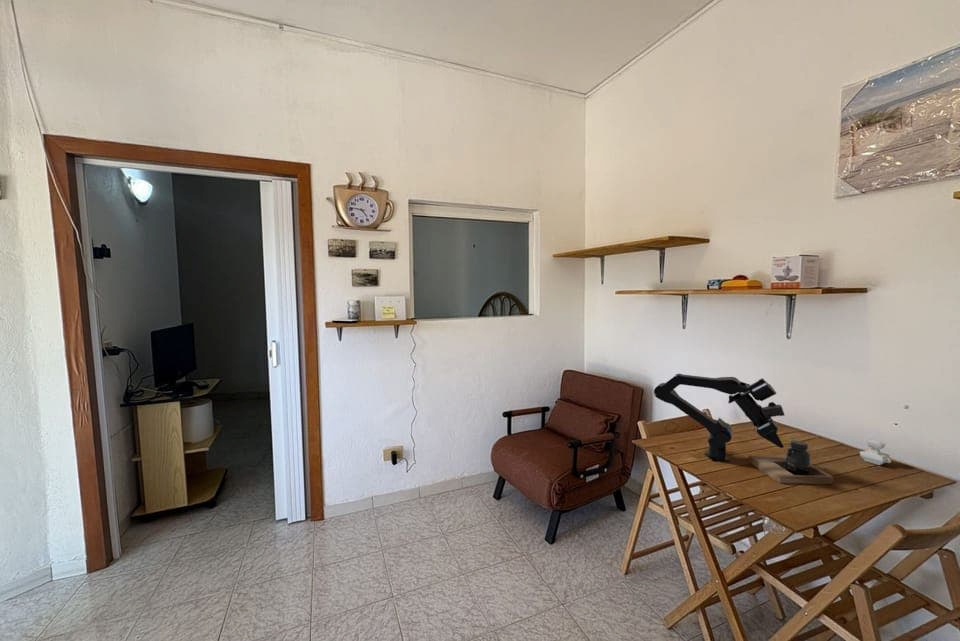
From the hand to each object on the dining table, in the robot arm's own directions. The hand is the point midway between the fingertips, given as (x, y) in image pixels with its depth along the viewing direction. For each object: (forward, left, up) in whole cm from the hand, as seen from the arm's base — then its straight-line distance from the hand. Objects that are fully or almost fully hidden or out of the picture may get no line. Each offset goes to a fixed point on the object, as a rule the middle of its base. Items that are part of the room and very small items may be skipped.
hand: (780, 443), depth 145 cm
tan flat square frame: (0, +3, -11) cm, 11 cm away
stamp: (-8, +41, -11) cm, 44 cm away
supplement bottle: (+2, +5, -11) cm, 12 cm away
